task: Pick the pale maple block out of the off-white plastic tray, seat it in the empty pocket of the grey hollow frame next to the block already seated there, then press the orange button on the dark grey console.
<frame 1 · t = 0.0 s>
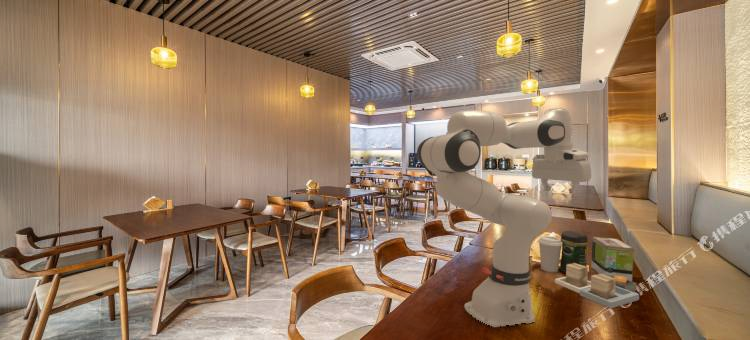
hand: (559, 192, 107), 39 cm above the table, tool pointing down, fingers open, 8 cm apart
coffee cup: (549, 271, 132), on the table
tea box: (610, 275, 129), on the table
button: (620, 282, 113), point 4 cm above the table, slide at 0.0 cm
tray: (576, 287, 115), on the table
coffee jar: (573, 274, 129), on the table
console: (619, 291, 113), on the table
block: (576, 285, 115), point 1 cm above the table, touching tray
grey hollow frame: (608, 300, 105), on the table
seated block: (602, 299, 104), point 1 cm above the table, touching grey hollow frame
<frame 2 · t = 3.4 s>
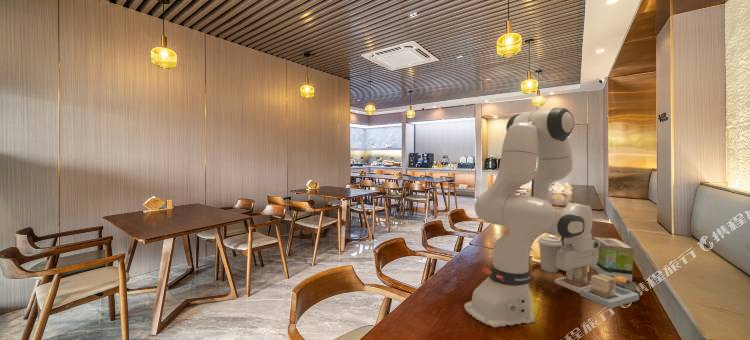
hand: (576, 277, 115), 4 cm above the table, tool pointing down, fingers closed on block, 5 cm apart
block: (576, 285, 115), point 1 cm above the table, touching gripper, tray
everything else where it was.
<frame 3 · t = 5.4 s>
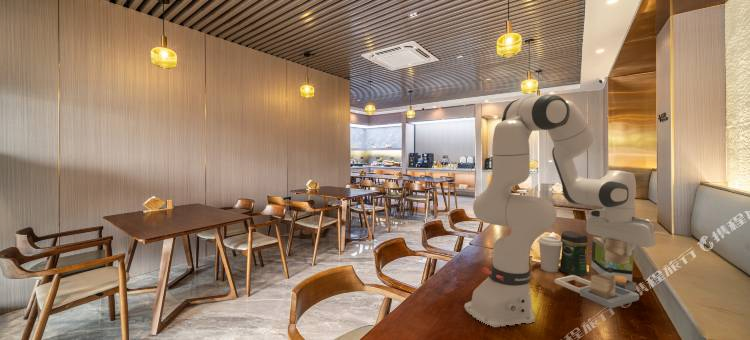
hand: (617, 252, 106), 17 cm above the table, tool pointing down, fingers closed on block, 5 cm apart
block: (616, 261, 106), point 14 cm above the table, touching gripper
everything else where it was.
when the fingers open (6 cm above the table, at t = 7.9 s): block drops 1 cm, resting on grey hollow frame.
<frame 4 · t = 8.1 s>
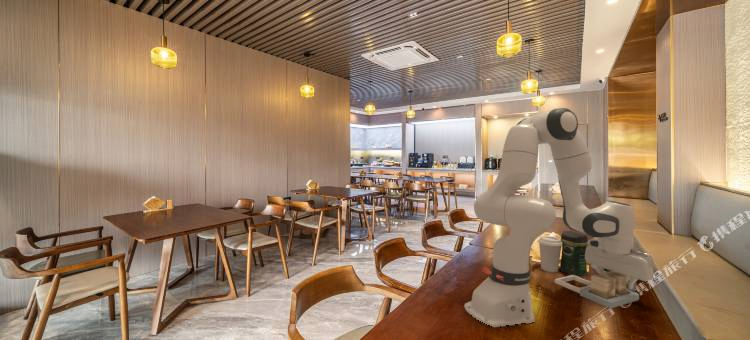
hand: (615, 283, 107), 6 cm above the table, tool pointing down, fingers open, 7 cm apart
block: (615, 295, 107), point 1 cm above the table, touching grey hollow frame
everything else where it was.
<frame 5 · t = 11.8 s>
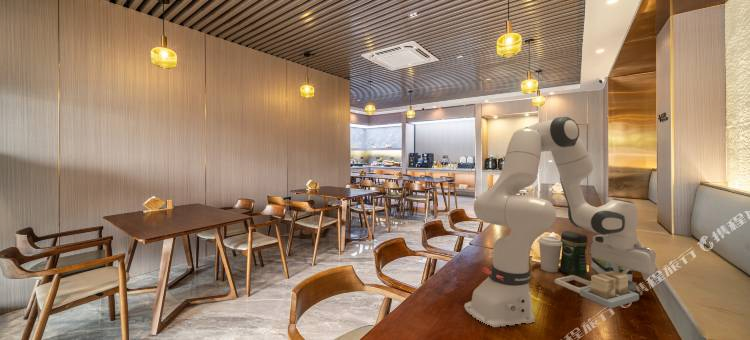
hand: (620, 276, 113), 5 cm above the table, tool pointing down, fingers closed, pressing on button
button: (620, 282, 113), point 3 cm above the table, slide at 0.0 cm, touching gripper
everything else where it was.
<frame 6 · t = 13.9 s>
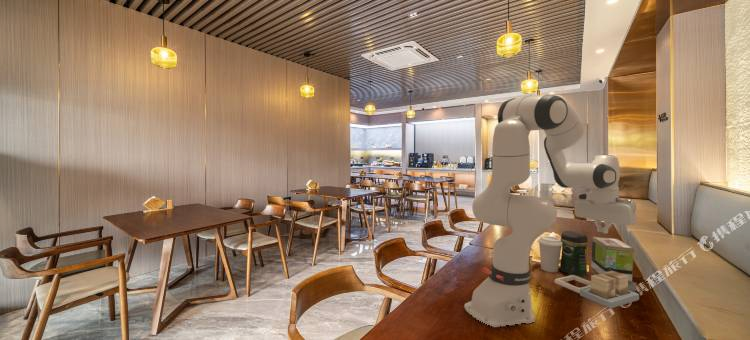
hand: (602, 232, 113), 22 cm above the table, tool pointing down, fingers closed
button: (620, 284, 113), point 3 cm above the table, slide at 0.9 cm
everything else where it was.
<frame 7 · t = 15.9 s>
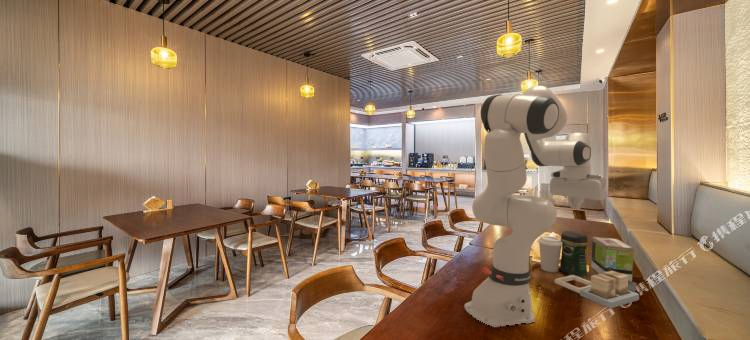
hand: (575, 208, 116), 31 cm above the table, tool pointing down, fingers closed
nothing on the table moved.
at the end: block 0.0 cm from the target spot on the grey hollow frame, point 1.0 cm above the grey hollow frame's base; block tilted 0°; button slide at 0.9 cm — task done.
